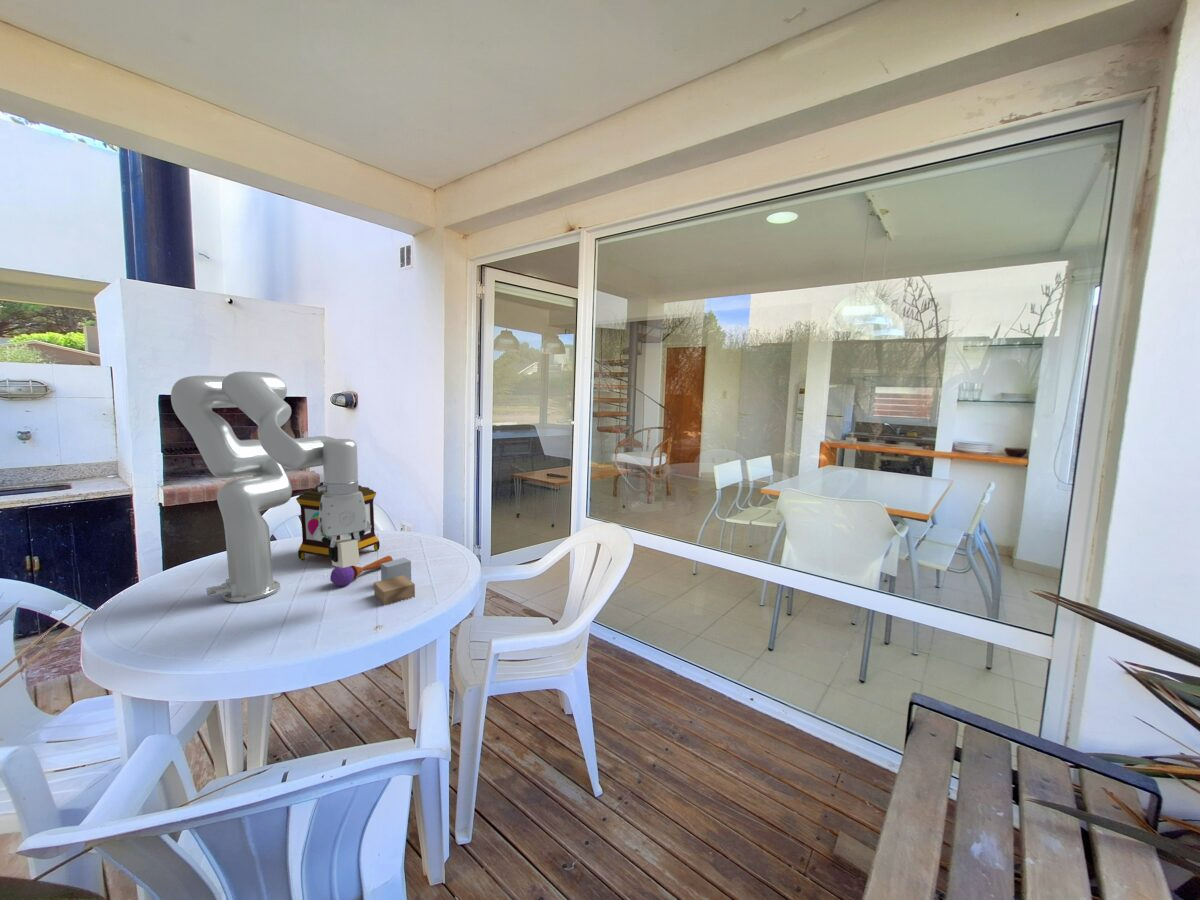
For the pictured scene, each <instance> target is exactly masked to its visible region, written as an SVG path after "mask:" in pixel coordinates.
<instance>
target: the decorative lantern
mask: <svg viewBox="0 0 1200 900" xmlns="http://www.w3.org/2000/svg"><path fill="white" fill-rule="evenodd" d="M323 483H324V481H323V482H319V485H316V486H315V487H313V488H312V489H311V490H306V491H304V492H302V494H299V496H298V497H296V498H295V499H296V502H297V503H298V504H299V506H300V516H301V517H300V518H301V521H300V522H301V534H302V542H301V544H300V546H299V548H298V551H297V553H298V554H297V555H298V559H299V560H300V559H303V560H304V559H305V558H306V554H309V555H314V556H321V557H325V558H327V557H328V558H329V551H328V545H327V544H325V543H324V542H322V541H319V540H316V539H314V538H312V535H313V534H314V532H315V530H316V529H317V527H318V525H319V508H320V501H321V497H322V495H324V493H323V492H318V487H319V486H323ZM358 491H360V492H362V494H363V498H364V503H365V509H366V516H367V521H368V522H369V523H370V524H371V526H372V527H371V528H370V529H369V530H368V531H367V532H365V534H364V535H363V536H362V537H361V538H360V541H359V542H358V549H359V551H361V550H364V549H366V548H369V547H373V549H374V551H375V550H378V551H379V550H380V548H381V547H380V546H381V545H380V544H381V543H380V540H379V538H378V537H377V536H376V534H375V516H374V515H375V512H374V510H375V509H374V499H375V498H376V495H377V492H376V491H374V490H373V489H370V487H367V486H362V485H361V484H360V485H359V484H358ZM321 535H322V536H324V537H326V538H327V536H326V535H325V534H324V533H322V534H321ZM346 538H347V539H351V536H350V533H348V534H343V535H338V536H337V539H336V540H341V539H346Z"/></svg>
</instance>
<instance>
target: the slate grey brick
mask: <svg viewBox="0 0 1200 900" xmlns="http://www.w3.org/2000/svg"><path fill="white" fill-rule="evenodd" d="M403 575H404V576H405V577H407V578H408V579H409V580H410V581H412V561H411V560H410V559H408V558H406V557H402V558H398V559H393V561H389V562H386V563H382V564H381V568H380V579H381V580H380V581H382V580H386V579H390V578H395V577H399V576H403Z"/></svg>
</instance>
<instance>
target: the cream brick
mask: <svg viewBox="0 0 1200 900" xmlns="http://www.w3.org/2000/svg"><path fill="white" fill-rule="evenodd" d="M336 546H337V548H338V562H334V561H332V560H331V565H332V566H334V567H337V566H338V567H341V568H345V567H349V566H358V565H360V563H361V562H360V553H359V551H360V550H358V540H353V539H347V538H346V539H341V540H336Z"/></svg>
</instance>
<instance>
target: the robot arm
mask: <svg viewBox="0 0 1200 900" xmlns="http://www.w3.org/2000/svg"><path fill="white" fill-rule="evenodd" d="M170 392H171V393H170V402H171V407H172V409H173V411H174V413H175V415H176V416H177V418H178V419H179V421H180V422H181V424H182V425H183V426H184V427H185V428H186V430H187V431H188V433H189V434H190V436H191V438H192V439H193V442H194V444H195V445H196V448H197V449H198V451H199V453H200V455H201V457H202V459H203V461H204V463H205V465H206V467H207V468H208V470H209V472H210V473H211V474H212V475H213V476H214V477H217V478H220V479H227V478H228V479H229V478H235V477H241V476H247V475H252V476H249V477H248V476H247V477H244V478H243V477H242V478H239V479H235V480H231V481H228V482H227V483H225V484H223V485H222V486H220V488H219V490H218V492H217V495H216V500H217V504H218V508H219V511H220V513H221V518H222V521H223V528H224V535H225V536H224V537H225V547H226V560H227V570H228V571H227V572H228V578H226V579H225V582H223V583H221V585H220V584H219V585H217V586H210V587H206V595H207V596H212V595H215V597H216V596H221V595H222V599H223V600H224V601H225V602H228V601H229V602H231V603H245V601H246V602H251V601H255V600H260V599H263V598H266V597H268V596H271V595H273V594H275V593H277V592H278V591H279V590H280V588H281V583H280V582H279V581H278V580H276V579H274V576H273V563H272V562H273V561H272V549H271V548H272V547H271V535H270V526H269V524H268V522H267V521H266V519H265V518H264V517H263V516H262V514H261V512H262V511H265V510H269V509H272V508H276V507H281V506H282V505H285V504H286V503H288V502H289V501H290V500H291V498H292V495H293V488H292V484H291V481H290V479H289V478H288V474H287V473H286V471H285V469H286V470H287V469H288V470H291V471H300V470H304V469H310V468H314V467H315V468H316V467H321V466H322V468H323V482H324V483H323V486H319V487H318V492H323V493H324V495H322V497H321V501H320V508H319V525H318V527H317V529H316V530H315V532H314V534H313V535H312V538H314V539H316V540H319V541H322V542H324V543H325V544H327V545H328V551H329V557H328V558H329V560H331V562H332V561H334V562H338V548H337V546H336V539H337V536H338V535H343V534H348V533H350V536H351V539H353V540H358V542H359V541H360V538H361V537H362V536H363V535H364V534H365V532H367V531H368V530H369V529H370V528H371V527H372V526H371V524H370V523H369V522H368V521H367V516H366V509H365V503H364V498H363V494H362V492H360V491H358V485H359V471H358V467H359V466H358V446H357V442H356V441H355V440H353V439H349V438H335V437H331V436H327V435H326V436H325V435H322V436H321V435H319V436H309V437H308V436H306V437H298V438H293V437H291V436H290V435H289V434H288V433H287V432H286V431H284V429H282V428H281V427H282V426H284V425H285V424H286V423H287V421H289V419H290V418H291V415H292V407H291V405H290V404H288V402H286V401H285V398H286V396H287V393H288V387H287V385H286V383H285V382H284V380H283V378H281V377H280V376H278V375H277V374H275V373H272V372H267V371H266V372H264V371H263V372H261V371H259V372H258V371H244V370H243V371H236V372H232V373H230V374H227V375H226V376H225V375H224V376H221V375H220V376H219V375H190V376H186V377H183V378H179V380H177V381H176V382H175V383H174V384H173V386H172V388H171V391H170ZM221 408H222V409H223V408H225V409H226V408H238V409H239V410H240V411H242V413H244V414H245V415H246V416H247V417H248V418H249V419H251V421H253V422H254V423H255V425H257V437H258V439H246V440H245V439H243V440H241V439H239V438H238V437H237V435H236V434H235V432H234V430H233V428H232V426H231V425H230V423H229V422H228V421H227V420H226V419H225V418H224V417H222V416H221V415H220V414H218V413H216V412H215V411H213V409H221ZM322 533H324V534H325V535H326V536H327V538H326V537H324V536H322V535H321V534H322ZM358 550H359V549H358ZM359 551H360V550H359Z"/></svg>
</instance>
